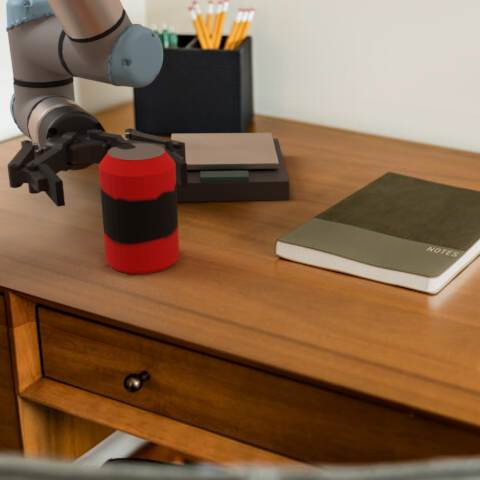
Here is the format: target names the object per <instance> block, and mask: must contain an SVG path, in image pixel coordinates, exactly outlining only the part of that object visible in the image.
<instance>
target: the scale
mask: <svg viewBox="0 0 480 480" xmlns="http://www.w3.org/2000/svg"><path fill="white" fill-rule="evenodd" d="M279 141H280V140H279V139H278V138H273V142H274V146H275V150H276V154H277V158H278V162H279V169H216V170H187V179H188V186H186V187H181V186H179V185H178V184H177V183H176V190H177V203H195V202H200V203H201V202H247V201H248V202H249V201H250V202H251V201H252V202H253V201H254V202H255V201H289V200H290V180H289V175H288V172H287V168H286V167H287V166H286V164H285V161H284V156H283V153H282V148H281V144H280V142H279Z"/></svg>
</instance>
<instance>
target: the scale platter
mask: <svg viewBox="0 0 480 480" xmlns="http://www.w3.org/2000/svg"><path fill="white" fill-rule="evenodd" d="M170 139H171V140H175V141H180V142H184V143H185V154H186V163H187V170H216V169H279V162H278V158H277V154H276V150H275V146H274V142H273V139H274V138H273V134H272V132H220V133H219V132H215V133H214V132H213V133H211V132H210V133H208V132H207V133H203V132H202V133H171V137H170Z"/></svg>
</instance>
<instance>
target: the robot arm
mask: <svg viewBox="0 0 480 480" xmlns="http://www.w3.org/2000/svg"><path fill="white" fill-rule="evenodd" d="M5 8H6V10H5V11H6V28H5V30H6V33H7V39H8V46H9V54H10V62H11V70H12V79H13V83H12V84H13V85H12V86H13V94H12V96H11V99H10V103H9V110H10V111H9V112H10V115H11V117H12V120H13V123H14V124H15V125H16V126H17V128H18V130H20V132H21V133H22V134H23V135H25V137H27V138H28V139H29V140H28V139H25V140H22V141H21V142H20V145H21V146H20V147H21V148H20V149H19V150H18V152H17V153H16V154H15V155H14V156H13V158H11V160H10V162H9V163H8V164H7V174H8V181H9V182H8V183H9V187H10V188H12V189H18V188H21V187H22V186H23V185H24V184H27V186H28V193H29V194H32V195H37V194H40V193H42V192H43V193H45V195H47V197H49V199H50V200H51V201H52V202H53V203H54V205H55V206H56V207H58V208H59V207H64V206H66V201H65V191H64V182H63V181H64V180H62V178H61V177H59V175H57V174H59V173H60V172H68V171H81V170H85V169H88V168H89V167H92V166H94V164H96V165H99V164H100V162H101V161H102V160H103V158H104V157H105V156H106V154H107V152H108V150H109V149H111V148H113V147H116V146H119V145H124V144H134V143H144V144H153V145H158V146H161V147H163V148H164V149H165V151H166V152H167V153H168V155H169V156H170V157H171V158H172V159H173V160H174V161H175V167H176V183H177V184H178V185H179V186H181V187H186V186H188V179H187V163H186V154H185V143H184V142H180V141H175V140H171V138H166V137H162V136H158V135H155V134H154V135H153V134H149V133H144V132H142V131H139V130H137V129H135V128H129V127H128V128H126V129H124V135H122V134H119V133H118V134H117V133H112V132H107V131H106V129H105V128H104V126H103V124H102V123H101V122H100V120H98V118H97V117H96V116H94V115H93V114H92V113H90V112H89V111H88V110H87V109H85V108H84V107H83V106H82V105H80V104H79V103H78V102H76V97H75V96H76V95H75V85H74V81H75V80H74V78H79V79H84V80H88V81H93V82H97V83H102V84H108V85H111V86H114V87H128V88H144V87H148V85H150V84H151V83H153V81H154V80H155V79H156V78H157V77H158V75H159V74H160V71H161V70H162V69H161V68H162V66H163V61H164V49H163V44H162V40H161V38H160V37H159V35H158V34H157V33H156V32H155V31H154V30H152V28H149V27H147V26H143V25H142V24H141V23H133V22H132V21H131V19H130V17H129V15H128V13H127V11H126V9H125V8H124V5H123V4H122V1H121V0H6V3H5Z"/></svg>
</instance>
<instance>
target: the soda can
mask: <svg viewBox="0 0 480 480" xmlns="http://www.w3.org/2000/svg"><path fill="white" fill-rule="evenodd" d="M98 174H99V175H98V177H99V189H100V202H101V213H102V225H103V228H102V229H103V240H104V252H105V253H104V255H105V262H106V264H108V265H109V266H110V267H111V268H112V269H113V270H116V271H117V272H119V273H120V272H121V273H124V274H133V275H146V274H153V273H158V272H161V271H162V272H163V271H164V270H167V269H169V268H171V267H172V266H174V265H175V263H176V262H177V261H178V260H179V258H180V237H179V217H178V216H179V215H178V202H177V190H176V167H175V161H174V160H173V159H172V158H171V157H170V156H169V155H168V153H167V152H166V151H165V149H164V148H163V147H161V146H158V145H153V144H144V143H134V144H124V145H119V146H116V147H113V148H111V149H109V150H108V152H107V154H106V156H105V157H104V158H103V160H102V161H101V162H100V163H99V164H98Z"/></svg>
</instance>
